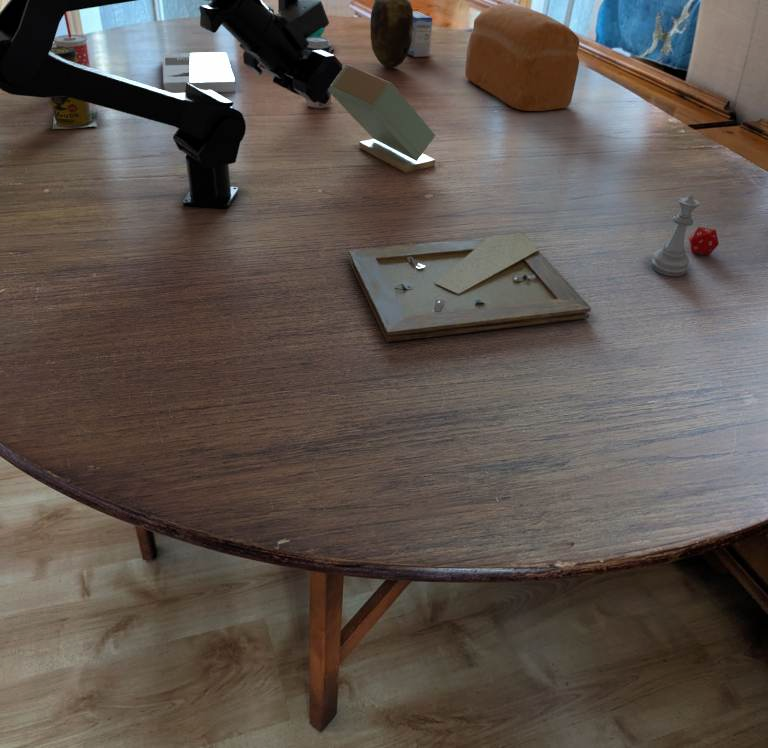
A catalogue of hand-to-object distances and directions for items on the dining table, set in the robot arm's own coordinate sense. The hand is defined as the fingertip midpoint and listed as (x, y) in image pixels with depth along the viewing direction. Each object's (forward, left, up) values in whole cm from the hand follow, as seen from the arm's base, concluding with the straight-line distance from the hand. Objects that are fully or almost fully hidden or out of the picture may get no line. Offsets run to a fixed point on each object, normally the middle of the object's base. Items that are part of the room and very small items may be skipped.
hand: (326, 100), depth 107 cm
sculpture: (+65, -4, -11) cm, 66 cm away
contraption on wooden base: (+76, +20, -11) cm, 80 cm away
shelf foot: (+9, -10, -11) cm, 18 cm away
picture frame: (-33, -21, -11) cm, 41 cm away
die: (-18, -53, -11) cm, 57 cm away
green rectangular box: (+10, -11, -8) cm, 17 cm away
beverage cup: (+34, +55, -11) cm, 66 cm away
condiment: (+15, +47, -11) cm, 51 cm away
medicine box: (+79, -9, -11) cm, 80 cm away
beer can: (+33, +7, -11) cm, 35 cm away
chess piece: (-24, -48, -11) cm, 54 cm away
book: (+47, +35, -11) cm, 59 cm away
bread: (+51, -32, -11) cm, 61 cm away
